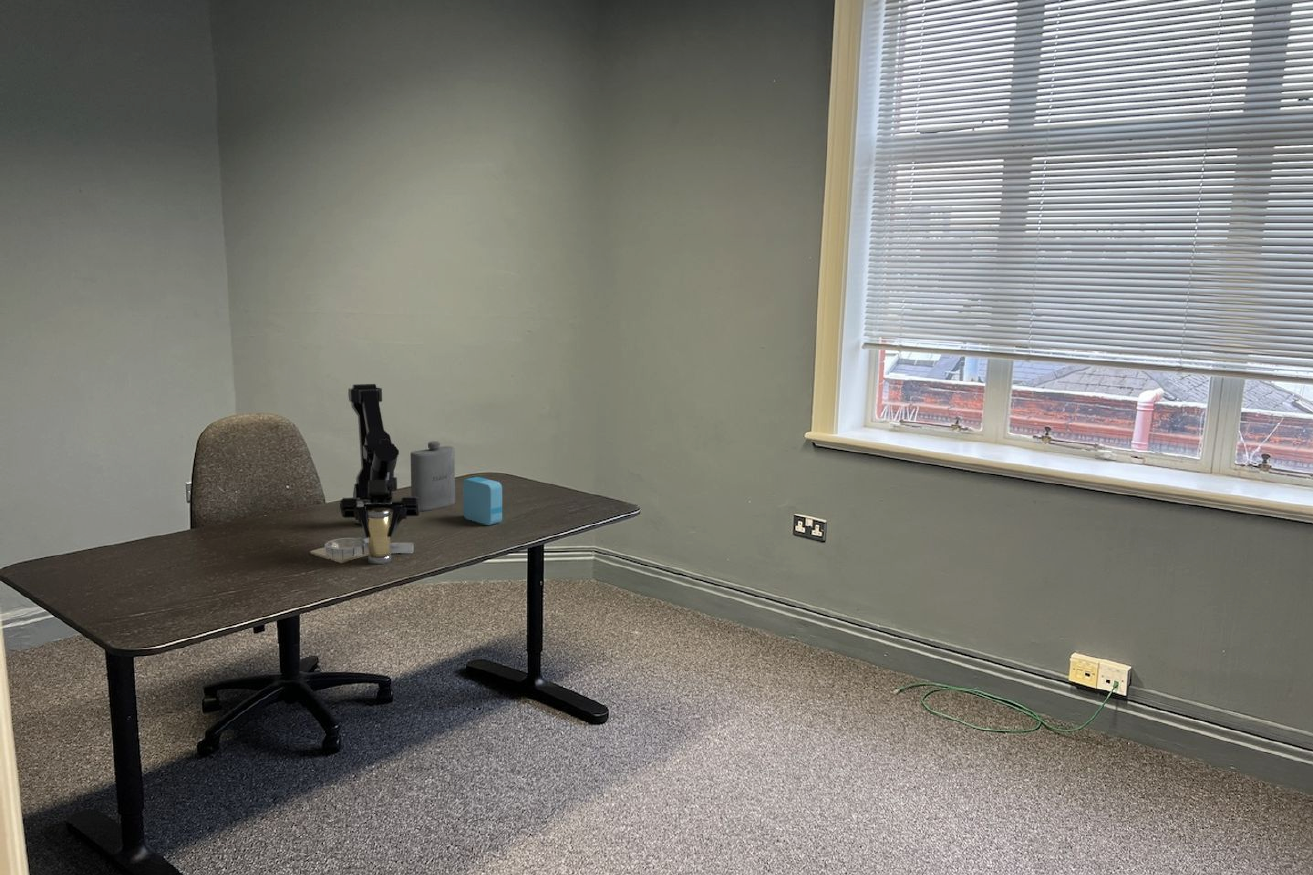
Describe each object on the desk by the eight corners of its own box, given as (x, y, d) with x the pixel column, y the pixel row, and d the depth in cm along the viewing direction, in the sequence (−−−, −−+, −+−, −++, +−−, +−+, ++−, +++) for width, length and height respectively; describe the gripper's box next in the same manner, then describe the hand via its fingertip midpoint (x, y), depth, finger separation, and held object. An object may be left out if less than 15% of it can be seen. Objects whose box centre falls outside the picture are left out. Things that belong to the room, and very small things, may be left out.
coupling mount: (310, 553, 234) (309, 544, 234) (382, 533, 253) (382, 524, 252) (361, 569, 223) (360, 559, 223) (432, 547, 242) (432, 538, 242)
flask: (420, 513, 274) (419, 446, 270) (408, 509, 277) (406, 443, 273) (460, 503, 285) (459, 440, 281) (448, 500, 289) (447, 437, 285)
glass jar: (364, 561, 229) (362, 510, 227) (381, 556, 234) (380, 506, 231) (378, 565, 226) (377, 514, 224) (396, 560, 231) (394, 509, 228)
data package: (502, 523, 266) (502, 482, 263) (490, 526, 262) (490, 485, 260) (474, 515, 273) (474, 475, 271) (462, 518, 270) (462, 478, 267)
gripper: (339, 466, 228) (334, 522, 219) (417, 465, 231) (416, 520, 223) (344, 489, 237) (340, 544, 228) (420, 488, 240) (418, 541, 232)
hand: (378, 537), depth 227 cm, fingers closed on glass jar, 5 cm apart
